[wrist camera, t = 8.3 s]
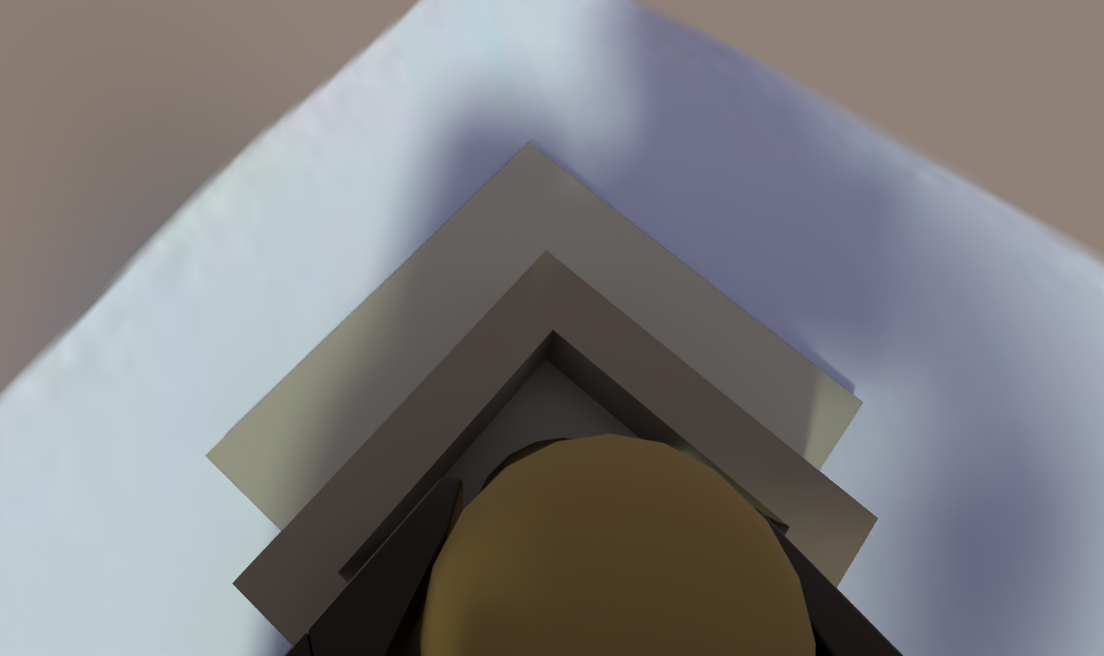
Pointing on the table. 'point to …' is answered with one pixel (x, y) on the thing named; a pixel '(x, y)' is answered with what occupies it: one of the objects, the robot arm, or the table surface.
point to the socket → (527, 388)
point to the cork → (612, 561)
